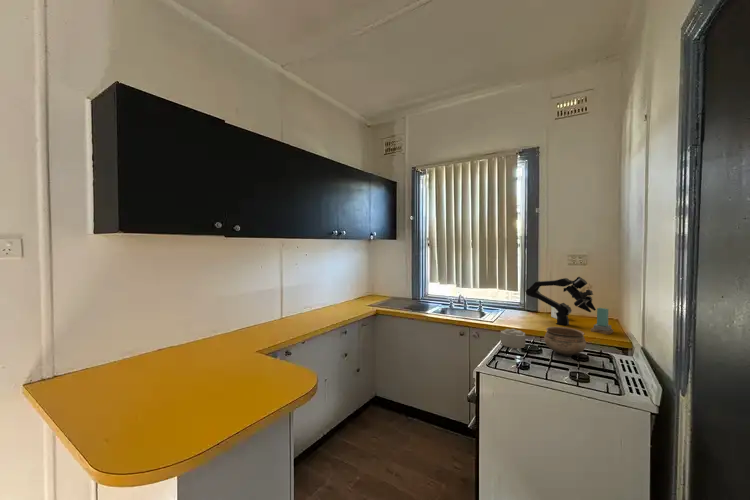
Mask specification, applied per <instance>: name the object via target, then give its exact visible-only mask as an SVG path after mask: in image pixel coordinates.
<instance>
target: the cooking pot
mask: <svg viewBox="0 0 750 500" xmlns="http://www.w3.org/2000/svg"><path fill="white" fill-rule="evenodd" d="M545 330H546V332H545V334H544V338H543V339H544V342H545V345H546V346H547V347H548V348H549V349H550V350H552V351H553V352H555V353H556V354H558V355H560V356H565V357H571V356H575V355H578V354H581V353H582V352H583V351H584V350H585V349H586V347H587V341H586V339H585V336H584V335H585V332H584V331H582V330H579V329H576V328H571V327H566V326H565V327H564V326H550V327H549V326H548V327H545Z"/></svg>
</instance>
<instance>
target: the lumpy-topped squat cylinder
mask: <svg viewBox="0 0 750 500" xmlns="http://www.w3.org/2000/svg"><path fill="white" fill-rule="evenodd" d="M501 343H502V344H503V345H502V344H501ZM500 344H501V345H502V346H504V347H507V348H512V349H513V348H514V349H519V350H521V349H520V348H524V347H526V332H523V331H522V330H517V328H511V329H509V328H506V329H504V330H501V331H500ZM524 349H525V348H524Z"/></svg>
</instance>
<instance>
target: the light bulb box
mask: <svg viewBox="0 0 750 500" xmlns="http://www.w3.org/2000/svg"><path fill="white" fill-rule="evenodd" d="M550 312H551V313H550V315H551V316H550V317H551V318H554V319H556V320H557V315H556V313H557V312H558V311H557V310H556V309H555V308H554V307H552V306H550Z"/></svg>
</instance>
